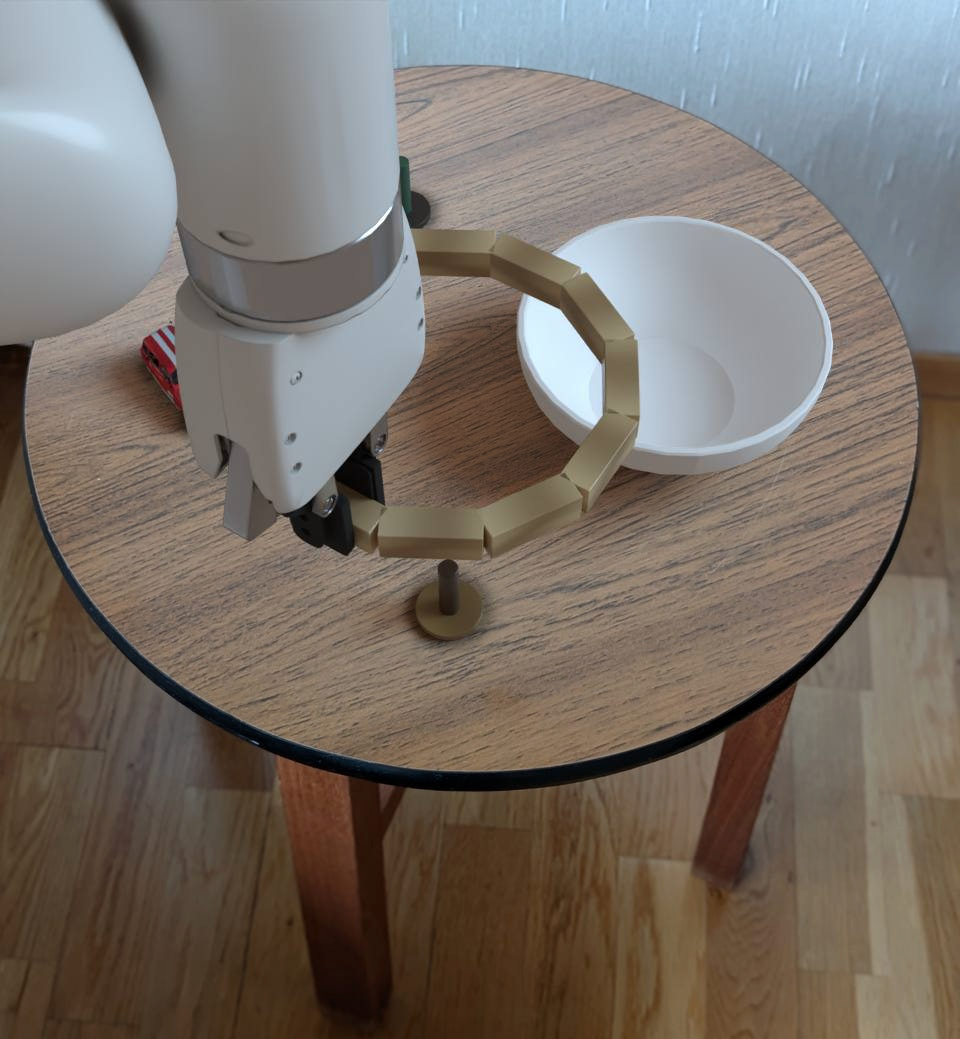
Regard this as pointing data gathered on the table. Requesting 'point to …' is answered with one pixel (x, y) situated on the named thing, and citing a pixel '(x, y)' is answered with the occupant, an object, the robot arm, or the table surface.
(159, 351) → the toy car
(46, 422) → the table surface
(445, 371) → the table surface
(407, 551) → the ring
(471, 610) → the walnut peg
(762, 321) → the bowl
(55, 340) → the table surface
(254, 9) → the robot arm
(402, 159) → the green peg
